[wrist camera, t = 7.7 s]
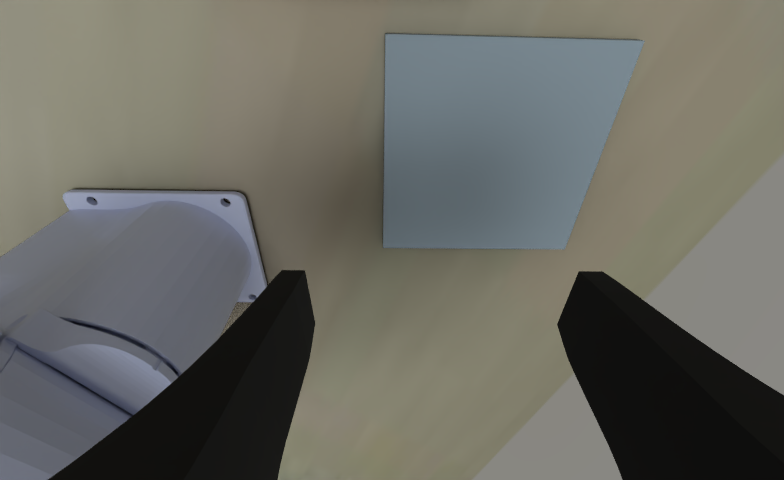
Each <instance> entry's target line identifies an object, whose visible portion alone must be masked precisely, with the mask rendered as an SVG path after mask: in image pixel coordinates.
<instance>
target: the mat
mask: <svg viewBox="0 0 784 480" xmlns="http://www.w3.org/2000/svg"><path fill="white" fill-rule="evenodd" d="M643 44H644V41H643V40H632V39H594V38H556V37H518V36H479V35H441V34H403V33H385V120H384V209H383V248H460V249H565V247H566V244H567V242H568V239H569V237H570V234H571V231H572V229H573V226H574V224H575V221H576V218H577V216H578V213H579V211H580V208H581V205H582V203H583V200H584V197H585V195H586V192H587V190H588V187H589V184H590V182H591V179H592V177H593V174H594V171H595V169H596V166H597V164H598V161H599V158H600V156H601V153H602V151H603V148H604V145H605V143H606V140H607V138H608V135H609V132H610V130H611V127H612V125H613V122H614V119H615V117H616V114H617V112H618V109H619V106H620V104H621V101H622V99H623V96H624V93H625V91H626V88H627V86H628V83H629V80H630V78H631V75H632V73H633V70H634V67H635V65H636V62H637V60H638V57H639V54H640V52H641V49H642V47H643Z"/></svg>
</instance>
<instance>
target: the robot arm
mask: <svg viewBox="0 0 784 480" xmlns="http://www.w3.org/2000/svg"><path fill="white" fill-rule="evenodd" d="M92 197H93V198H95V199H96V200H97V201H95V200H94V199H93V198H92ZM223 198H225V199H228V200H229V201H230V204H229V203H226V202H225V201H224V200H223ZM63 200H64V202H65V203H66V205H67V207H68V209H69V210H70V211H68V212H66V213H65V214H64V215H62V216H61V217H59V218H58V219H56V220H55V221H53V222H52V223H50V224H49V225H47V226H46V227H44V228H43V229H41V230H40V231H38V232H37V233H35V234H34V235H32V236H31V237H29V238H28V239H26V240H25V241H23V242H22V243H20V244H19V245H18V246H16V247H15V248H13V249H12V250H10V251H9V252H7V253H6V254H4V255H3V256H1V257H0V480H277V479H278V474H279V468H280V463H281V459H282V455H283V451H284V447H285V443H286V439H287V436H288V432H289V429H290V425H291V422H292V418H293V415H294V411H295V408H296V404H297V401H298V397H299V394H300V390H301V387H302V383H303V380H304V376H305V373H306V369H307V366H308V362H309V358H310V352H311V346H312V340H313V334H314V327H315V320H314V315H313V310H312V305H311V299H310V294H309V289H308V284H307V279H306V274H305V270H282V271H281V272H280V273H279V274H278V275H277V276H276V277H275V278H274V279H273V280H272V281H271V283H270V284H269V285H268V286H267V282H266V278H265V274H264V270H263V266H262V262H261V257H260V253H259V249H258V245H257V241H256V237H255V233H254V229H253V225H252V221H251V217H250V212H249V208H248V204H247V200H246V198H245V196H244V195H243V194H241V193H239V192H235V191H154V190H74V189H73V190H69V191H67V192H66V193H64V194H63ZM251 294H253V295H255V296H253V295H251ZM236 302H253V303H252V304H251V305H250V306H249V307H248V308H247V309H246V310H245V311H244V312H243V314H242V315H241V316H240V317H239V318H238V319H237V320H236V321H235V322H234V323H233V324H232V325H231V326H230V327H229V328H228V329H227V330H226V332H225V333H224V334H223V335H222V336H221V337H220V335H221V333H222V331H223V329H224V327H225V325H226V323H227V321H228V319H229V317H230V315H231V313H232V311H233V309H234V306H235V304H236ZM557 325H558V328H559V332H560V335H561V338H562V342H563V345H564V348H565V351H566V354H567V357H568V360H569V362H570V364H571V366H572V369H573V371H574V373H575V375H576V377H577V379H578V381H579V384H580V386H581V388H582V390H583V392H584V394H585V397H586V399H587V401H588V403H589V405H590V407H591V409H592V411H593V413H594V416H595V417H596V420H597V422H598V424H599V426H600V428H601V430H602V432H603V434H604V437H605V439H606V441H607V443H608V445H609V447H610V450H611V452H612V454H613V457H614V459H615V461H616V464H617V466H618V468H619V471H620V474H621V476H622V479H623V480H784V395H782V394H780V393H779V392H777V391H775V390H774V389H772V388H771V387H769V386H767V385H766V384H764V383H763V382H761V381H759V380H758V379H756V378H755V377H753V376H752V375H750V374H749V373H747V372H745V371H744V370H742V369H741V368H739V367H738V366H736V365H735V364H733V363H732V362H730V361H729V360H727V359H726V358H724V357H723V356H721V355H720V354H718V353H717V352H715V351H713V350H712V349H711V348H709V347H708V346H707V345H705V344H704V343H702V342H701V341H699V340H697V339H696V338H695V337H694V336H692V335H691V334H689V333H688V332H686V331H685V330H683V329H682V328H681V327H679V326H678V325H677V324H675V323H674V322H672V321H671V320H669V319H668V318H667V317H666V316H664V315H663V314H661V313H660V312H659V311H657V310H655V308H653V307H652V306H650V305H649V304H648V303H646V302H645V301H644V300H642V299H641V298H639V297H638V296H637V295H635V294H634V293H633V292H631V291H630V290H628V289H627V288H626V287H624V286H623V285H622V284H620V283H619V282H617V281H616V280H614V279H613V278H611V277H610V276H608V275H607V274H605V273H604V272H578V275H577V277H576V280H575V282H574V285H573V287H572V289H571V292H570V294H569V297H568V299H567V302H566V304H565V307H564V309H563V311H562V314H561V316H560V319H559V321H558V324H557ZM219 337H220V338H219Z"/></svg>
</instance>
